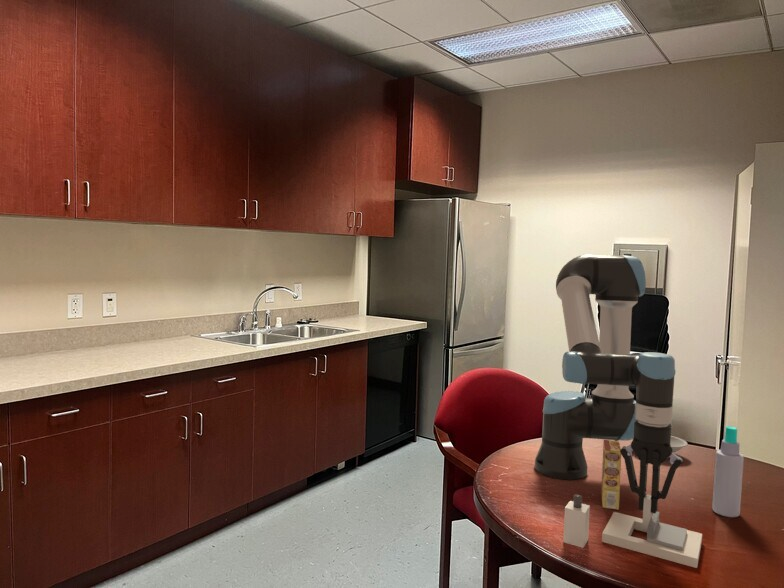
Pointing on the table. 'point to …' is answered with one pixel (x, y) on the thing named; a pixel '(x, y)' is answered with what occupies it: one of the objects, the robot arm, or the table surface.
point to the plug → (576, 522)
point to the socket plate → (621, 533)
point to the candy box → (611, 474)
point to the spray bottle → (728, 476)
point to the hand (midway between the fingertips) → (646, 524)
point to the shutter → (665, 533)
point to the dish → (677, 443)
